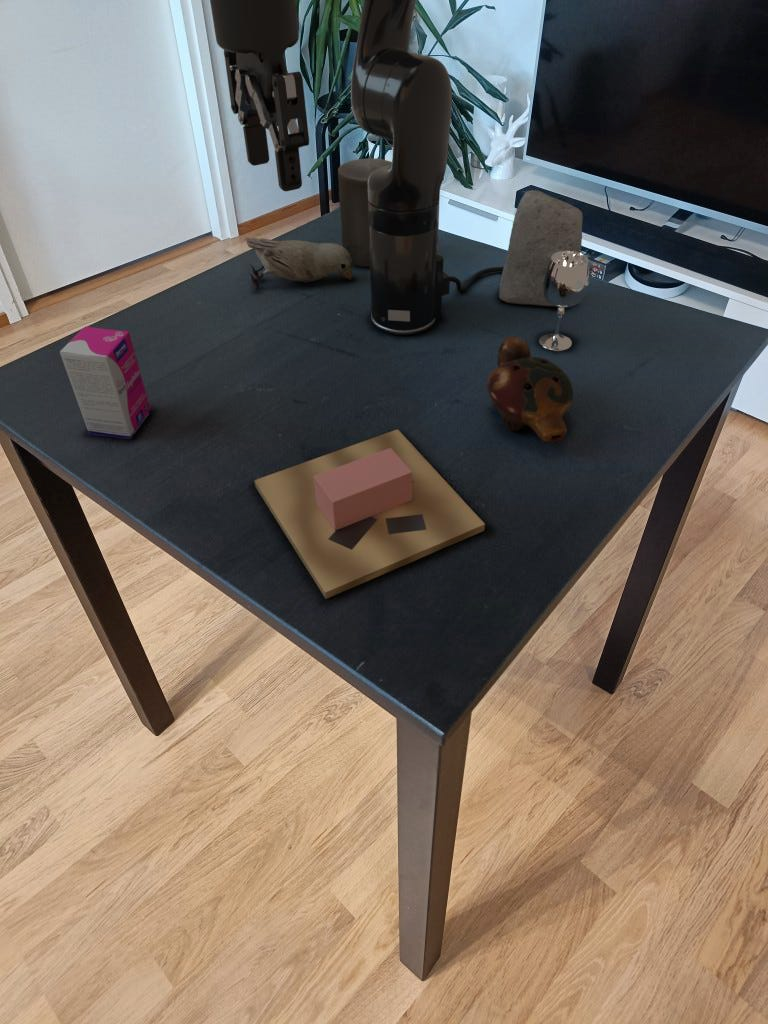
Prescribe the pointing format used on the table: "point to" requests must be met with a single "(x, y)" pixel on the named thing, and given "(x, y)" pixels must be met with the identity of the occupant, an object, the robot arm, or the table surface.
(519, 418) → the brown ceramic rounded figure
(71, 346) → the supplement box
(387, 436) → the board
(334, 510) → the eraser
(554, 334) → the wineglass
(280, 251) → the decorative bird
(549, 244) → the decorative stone
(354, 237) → the pillar candle
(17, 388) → the table surface
